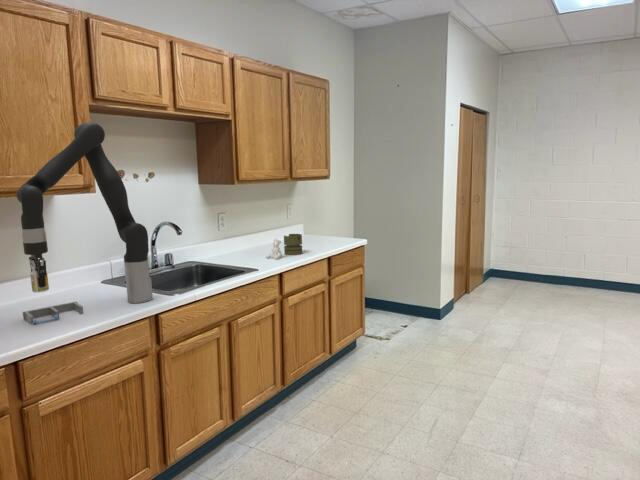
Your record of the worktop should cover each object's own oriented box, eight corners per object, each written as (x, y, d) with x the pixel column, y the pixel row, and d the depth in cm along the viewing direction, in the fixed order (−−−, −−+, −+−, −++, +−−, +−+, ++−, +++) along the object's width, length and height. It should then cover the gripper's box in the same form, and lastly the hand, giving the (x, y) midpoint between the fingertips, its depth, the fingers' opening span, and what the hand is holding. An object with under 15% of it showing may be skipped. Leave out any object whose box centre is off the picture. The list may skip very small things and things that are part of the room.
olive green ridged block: (280, 235, 300) (290, 233, 309) (280, 254, 302) (291, 251, 311) (295, 236, 294) (305, 234, 303) (295, 256, 296) (305, 252, 305)
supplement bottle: (51, 288, 181) (49, 263, 179) (44, 292, 175) (41, 266, 174) (37, 289, 180) (34, 263, 179) (29, 292, 175) (26, 266, 174)
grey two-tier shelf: (77, 308, 194) (76, 301, 194) (84, 313, 187) (84, 306, 187) (23, 319, 182) (22, 311, 181) (29, 325, 175) (28, 317, 174)
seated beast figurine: (265, 258, 290) (264, 239, 288) (275, 256, 296) (274, 237, 295) (275, 260, 284) (274, 240, 282) (286, 258, 290) (285, 238, 288)
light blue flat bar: (58, 319, 181) (57, 314, 181) (59, 319, 180) (58, 315, 180) (32, 324, 175) (32, 319, 175) (33, 325, 174) (32, 320, 174)
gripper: (51, 241, 172) (56, 287, 175) (41, 237, 183) (46, 280, 185) (27, 243, 167) (33, 291, 170) (18, 240, 178) (24, 284, 180)
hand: (40, 285), depth 178 cm, fingers closed on supplement bottle, 5 cm apart
